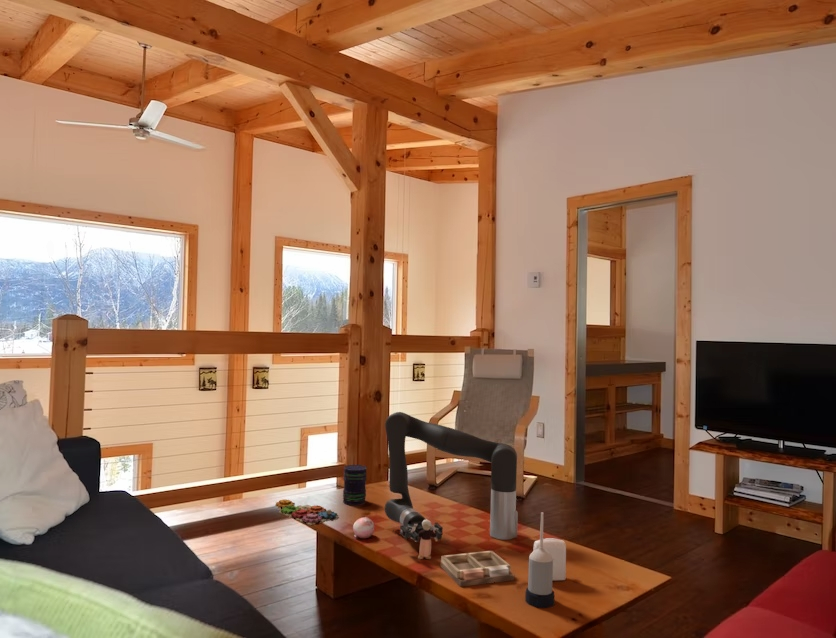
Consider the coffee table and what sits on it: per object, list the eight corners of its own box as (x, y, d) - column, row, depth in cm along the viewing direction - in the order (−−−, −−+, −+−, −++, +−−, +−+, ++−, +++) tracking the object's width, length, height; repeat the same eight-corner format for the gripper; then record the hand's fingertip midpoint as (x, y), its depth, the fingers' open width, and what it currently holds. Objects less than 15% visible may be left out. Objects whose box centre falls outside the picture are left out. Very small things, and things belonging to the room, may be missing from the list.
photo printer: (534, 582, 187) (535, 541, 187) (530, 576, 192) (532, 536, 192) (567, 581, 188) (568, 541, 188) (562, 575, 193) (564, 536, 193)
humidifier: (551, 595, 178) (554, 509, 178) (556, 608, 170) (559, 518, 170) (523, 594, 178) (525, 508, 179) (527, 607, 170) (529, 516, 170)
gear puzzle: (265, 508, 254) (265, 498, 254) (297, 501, 266) (297, 492, 266) (309, 527, 233) (310, 516, 233) (343, 518, 244) (343, 508, 244)
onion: (372, 543, 219) (369, 525, 217) (351, 542, 221) (348, 525, 219) (377, 529, 227) (374, 512, 225) (357, 529, 228) (354, 512, 226)
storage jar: (357, 497, 273) (358, 463, 273) (370, 502, 265) (371, 468, 265) (338, 501, 266) (339, 466, 266) (350, 506, 259) (351, 471, 259)
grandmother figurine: (416, 560, 201) (417, 522, 201) (413, 556, 205) (414, 518, 205) (438, 558, 203) (439, 520, 203) (435, 554, 207) (436, 516, 207)
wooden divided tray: (491, 560, 203) (491, 550, 203) (514, 580, 188) (514, 568, 188) (440, 566, 197) (440, 555, 197) (460, 586, 182) (460, 574, 182)
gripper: (393, 512, 215) (408, 528, 200) (432, 509, 220) (449, 524, 205) (393, 534, 215) (408, 551, 200) (431, 530, 220) (449, 547, 205)
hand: (429, 537), depth 202 cm, fingers closed on grandmother figurine, 7 cm apart
